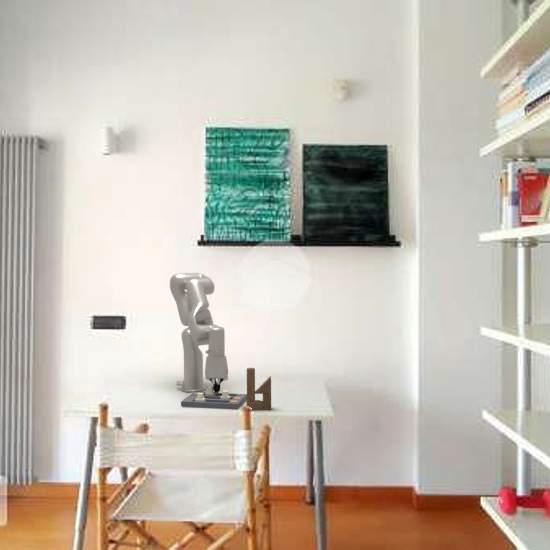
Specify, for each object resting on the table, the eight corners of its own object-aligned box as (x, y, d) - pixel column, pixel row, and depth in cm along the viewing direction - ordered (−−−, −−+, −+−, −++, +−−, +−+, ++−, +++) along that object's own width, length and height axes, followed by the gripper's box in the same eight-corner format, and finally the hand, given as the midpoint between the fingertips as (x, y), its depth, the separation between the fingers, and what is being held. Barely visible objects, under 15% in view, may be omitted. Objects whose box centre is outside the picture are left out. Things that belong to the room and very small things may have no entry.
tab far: (205, 397, 261) (205, 388, 261) (207, 396, 264) (207, 386, 264) (213, 398, 260) (213, 388, 260) (215, 396, 263) (215, 386, 263)
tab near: (194, 404, 249) (194, 394, 249) (197, 402, 252) (197, 392, 252) (203, 404, 249) (203, 394, 248) (205, 402, 252) (205, 392, 252)
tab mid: (220, 401, 253) (220, 391, 253) (222, 399, 256) (222, 390, 256) (228, 402, 253) (228, 392, 252) (230, 400, 256) (230, 390, 256)
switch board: (181, 406, 249) (180, 400, 249) (194, 397, 267) (194, 391, 267) (237, 409, 244) (237, 403, 244) (247, 399, 262) (247, 393, 262)
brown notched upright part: (271, 410, 243) (271, 368, 243) (246, 410, 242) (246, 369, 242) (270, 407, 247) (270, 367, 246) (246, 408, 246) (246, 367, 246)
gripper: (198, 354, 259) (199, 393, 259) (230, 355, 256) (230, 394, 257) (203, 351, 266) (203, 389, 267) (234, 352, 263) (234, 391, 264)
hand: (216, 392), depth 262 cm, fingers closed
